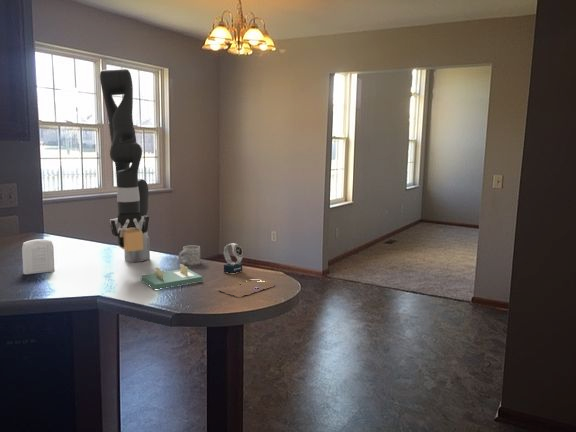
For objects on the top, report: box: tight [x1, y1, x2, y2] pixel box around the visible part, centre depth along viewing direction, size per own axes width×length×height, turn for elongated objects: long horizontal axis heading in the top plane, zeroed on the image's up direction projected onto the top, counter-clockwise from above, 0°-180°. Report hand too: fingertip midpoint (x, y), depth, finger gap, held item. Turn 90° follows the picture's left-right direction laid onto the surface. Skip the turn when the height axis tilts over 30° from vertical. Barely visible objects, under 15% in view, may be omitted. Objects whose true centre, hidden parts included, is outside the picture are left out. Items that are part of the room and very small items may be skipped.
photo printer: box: [21, 238, 55, 275], centre depth 175 cm, size 10×4×12 cm, turn 123°
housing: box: [117, 228, 143, 252], centre depth 172 cm, size 6×9×6 cm, turn 38°
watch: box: [223, 242, 245, 274], centre depth 180 cm, size 6×8×11 cm
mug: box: [178, 244, 201, 266], centre depth 191 cm, size 10×7×7 cm, turn 145°
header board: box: [141, 263, 203, 290], centre depth 167 cm, size 17×13×5 cm
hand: (130, 245), depth 172 cm, fingers closed on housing, 5 cm apart
